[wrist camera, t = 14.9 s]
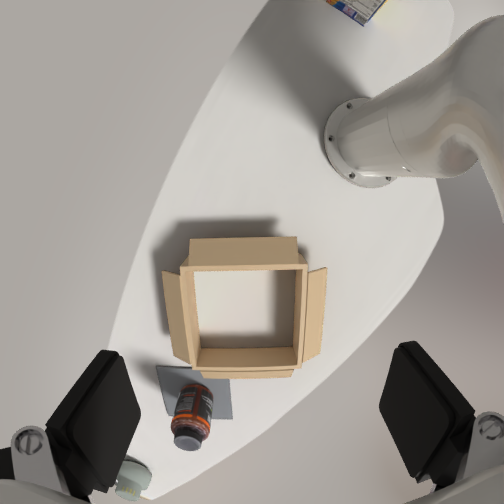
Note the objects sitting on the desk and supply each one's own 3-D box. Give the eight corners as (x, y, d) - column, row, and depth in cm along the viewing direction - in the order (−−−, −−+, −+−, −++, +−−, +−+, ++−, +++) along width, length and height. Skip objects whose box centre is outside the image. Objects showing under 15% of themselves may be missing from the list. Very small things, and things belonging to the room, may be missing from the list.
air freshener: (147, 480, 53) (139, 507, 43) (118, 468, 52) (108, 495, 42) (155, 465, 51) (147, 496, 41) (123, 452, 50) (112, 482, 40)
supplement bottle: (173, 393, 44) (158, 440, 33) (194, 376, 43) (182, 426, 32) (199, 411, 45) (190, 459, 34) (221, 396, 44) (216, 446, 33)
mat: (228, 368, 43) (228, 370, 43) (232, 417, 46) (232, 419, 46) (156, 365, 43) (156, 367, 43) (169, 414, 46) (168, 415, 45)
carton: (322, 231, 38) (333, 239, 33) (313, 363, 43) (319, 382, 38) (165, 235, 38) (153, 243, 33) (181, 365, 43) (175, 385, 38)
